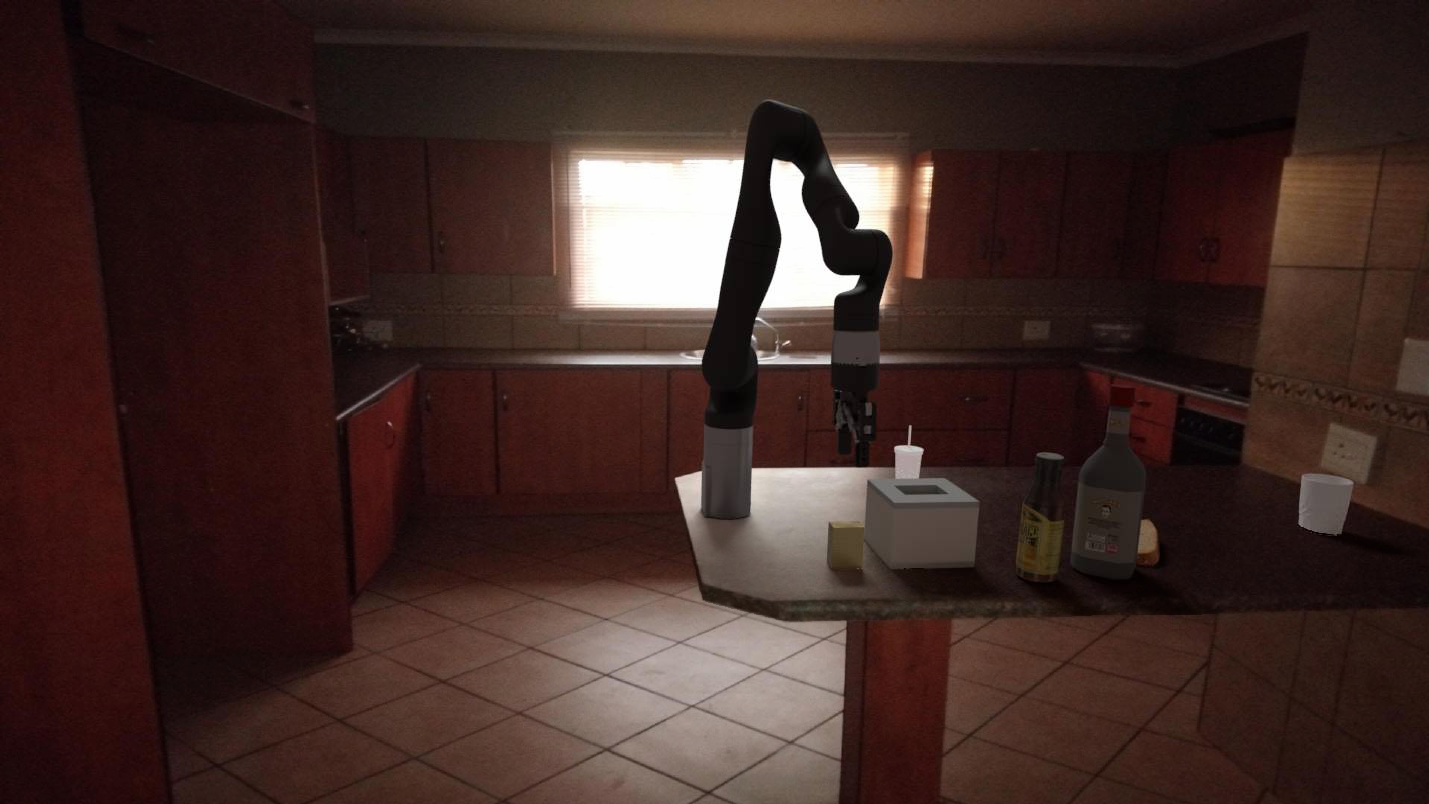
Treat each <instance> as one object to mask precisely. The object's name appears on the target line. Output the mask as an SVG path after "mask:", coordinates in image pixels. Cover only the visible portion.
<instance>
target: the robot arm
mask: <svg viewBox="0 0 1429 804" xmlns="http://www.w3.org/2000/svg"><path fill="white" fill-rule="evenodd" d="M774 160H777V161H780V162H785V163H792V164H793V165H794V166H795V167H796V168H797V169H798V170H799V172H801V174H802V175H803V182H802V184H801V200H802V204H803V207H804V208H805V211H806V213H807V215H808V216H809V217H810V219H811V221H812V223H813V225H814V226H815V228H816V229H817V234H818V239H819V243H820V247H821V256H822V261H823V263H824V265H825V267H826V268H827V269H828V270H829V271H830V272H832V274H835V275H838V276H843V277H844V276H851V277H852V276H859V277H858V279H857V282H856V284H855V286H854V287H853V288H852V289H850V290H846V291H843V292H840V293H838V294H837V295H836V296H835V298H834V301H833V319H832V320H833V322H832V323H833V326H832V328H833V329H832V330H833V331H832V338H831V345H830V346H831V347H830V382H829V383H830V387H831V389H832V390H834V391H833V402H832V403H833V404H832V425H833V426H835V431H836V432H837V443H836V445H837V447H836V452H837V454H839V455H840V456H846V455H848V456H849V455H851V454H852V448H853V449H854V451H853V455H854V456H853V465H854V466H855V467H856V468H868V467H869V466H870V444H871V443H873V442H876V441H877V413H878V412H877V410H878V409H877V406H878V405H877V402H876V401H875V402H874V401H869V393H870V392H874V391H876V390H878V389H879V386H880V357H881V343H880V342H881V341H880V305H881V301H882V298H883V294H884V292H885V289H886V288H885V287H886V283H887V280H888V276H889V273H890V270H891V266H892V263H893V258H894V252H893V251H894V250H893V245H892V241H891V238H890V237H889V235H888V234H887V233H886V232H884V231H883V230H881V229H876V228H857V227H858V225H859V223H860V212H859V211H860V210H859V209H858V207H857V206H856V203H855V202H854V201H853V198H852V197H851V196H850V193H849V192H848V191H847V189H846V188H845V186H844V185H843V182H841V180H840V178H839V176H838V174H837V173H836V170H835V169H834V166H833V163H832V161H831V158H830V156H829V153H828V150H827V147H826V144H825V142H824V139H823V137H822V134H821V131H820V129H819V125H818V123H817V122H816V120H815V118H814V117H813V115H812V114H811V113H810V112H808V111H806V110H805V109H802V108H800V107H795V106H792V105H790V104H787V103H783V102H780V101H777V100H774V99H765V100H764V99H763V100H762V101H761V102H759V103H758V104H757V106H756V108H754V111H753V112H752V115H751V118H750V121H749V125H748V130H747V133H746V141H745V149H744V156H743V166H742V174H741V181H740V187H739V194H738V199H737V200H738V201H737V204H736V210H735V214H734V219H733V223H732V228H731V231H730V236H729V239H728V245H727V249H726V255H725V259H724V260H725V261H724V268H723V272H722V276H721V277H722V278H721V282H720V287H719V295H718V303H717V308H716V314H715V317H714V320H713V323H712V327H711V330H710V333H709V337H708V340H707V343H706V346H705V348H704V352H703V355H702V359H701V363H700V364H701V366H700V367H701V368H700V369H701V373H702V376H703V377H702V378H704V381H705V382H706V384H707V385H708V386H709V396H708V397H709V398H708V401H707V405H706V407H705V410H704V428H703V429H704V430H703V435H704V436H703V460H701V489H700V490H701V496H700V499H701V501H700V506H701V507H700V508H701V511H702V513H703V516H704V517H706V518H708V517H709V518H715V519H721V520H722V519H723V520H724V519H725V520H731V519H732V520H734V519H741V518H745V517H747V516H749V515H750V514H751V506H752V477H753V476H752V475H753V474H752V470H753V469H752V468H753V443H754V441H753V440H754V436H753V435H754V418H755V417H754V416H755V412H756V408H757V403H758V401H757V400H758V399H757V398H758V382H759V360H758V355H757V352H756V350H755V348H754V347H753V346H752V339H753V332H754V327H755V323H756V320H757V317H758V313H759V311H760V309H761V307H762V304H763V302H764V301H765V298H766V296H767V293H768V291H769V289H770V286H771V284H772V281H773V279H774V275H775V272H776V269H777V264H778V259H779V255H780V250H781V246H782V239H783V238H782V231H781V225H780V221H779V218H778V214H777V211H776V208H775V204H774V200H773V197H772V195H773V194H772V192H771V191H772V190H771V187H772V186H771V179H772V178H771V177H772V169H773V162H774ZM852 439H853V440H854V446H853V447H852V445H853V444H852V443H853V442H852Z"/></svg>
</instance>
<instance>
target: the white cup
mask: <svg viewBox="0 0 1429 804" xmlns="http://www.w3.org/2000/svg"><path fill="white" fill-rule="evenodd" d="M1353 489H1354V481H1352V480H1351V479H1348V478H1346V477H1345V478H1344V477H1341V476H1336V475H1332V474H1325V473H1324V474H1323V473H1304V474H1302V475H1301V483H1300V491H1299V493H1300V494H1299V503H1298V508H1299V509H1298V514H1299V515H1298V524H1299V525H1300V526H1301V527H1304V528H1306V529H1308V530H1312V531H1314V532H1319V533H1327V534H1334V535H1333V536H1338V535H1337V534H1340V535H1342V532H1343V528H1344V527H1343V526H1344V523H1345V521H1346V519H1347V515H1348V510H1349V506H1350V504H1351V503H1350V502H1351V497H1352V493H1353Z"/></svg>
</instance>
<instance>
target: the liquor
mask: <svg viewBox="0 0 1429 804" xmlns="http://www.w3.org/2000/svg"><path fill="white" fill-rule="evenodd" d="M1108 389H1109V390H1108V397H1107V398H1108V399H1107V405H1108V406H1109V407H1108V409H1109V410H1108V413H1107V414H1108V417H1107V424H1106V431H1105V433H1106V434H1105V438H1104V440H1103V441H1102V442H1103V445H1101V446H1100V447H1099V448H1098V449H1097V450H1096V451H1095V452H1094V453H1093V454H1091V455H1090V456H1089V457H1088V458H1087V459H1086V461H1085V462H1084V463H1083V464H1082V466H1081V468H1080V470H1079V474H1078V483H1077V492H1076V493H1077V495H1076V502H1075V503H1076V504H1075V511H1074V512H1075V513H1074V522H1073V532H1072V542H1071V543H1072V544H1071V552H1070V562H1069V563H1070V564H1071V567H1072V568H1073V569H1074V570H1076V571H1078V572H1080V573H1082V574H1085V575H1089V576H1095V577H1098V578H1099V577H1100V578H1105V579H1110V580H1113V581H1118V580H1119V581H1120V580H1130V579H1131V577H1132V576H1133V574H1134V572H1135V569H1136V567H1137V565H1136V562H1137V553H1138V545H1139V536H1140V528H1141V520H1143V519H1142V518H1143V517H1142V516H1143V510H1144V499H1145V492H1146V484H1147V483H1146V482H1147V476H1148V474H1147V470H1146V467H1145V465H1144V464H1143V463H1142V461H1141V460H1140V459H1139V458H1138V456H1137V455H1136V454H1135V452H1134V451H1133V450H1132V448H1131V447H1130V440H1129V432H1130V423H1131V422H1130V420H1131V413H1132V408H1133V407H1134V406H1135V405H1134V404H1135V394H1136V386H1134V385H1130V384H1123V383H1121V384H1119V383H1117V384H1116V383H1115V384H1109V388H1108Z"/></svg>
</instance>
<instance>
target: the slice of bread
mask: <svg viewBox="0 0 1429 804" xmlns="http://www.w3.org/2000/svg"><path fill="white" fill-rule="evenodd" d="M1159 537H1160V536H1159V533H1158V530H1157V527H1156V526H1155V524H1154V523H1153V522H1152V521H1151V520H1150V519H1149V518H1148V519H1146V518H1145V519H1141V528H1140V536H1139V545H1138V553H1137V562H1136V564H1138V565H1137V566H1140V565H1154V564H1156V563H1157V562H1158V563H1159V561H1160V554H1161V553H1160V538H1159ZM1158 563H1157V564H1158Z"/></svg>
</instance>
